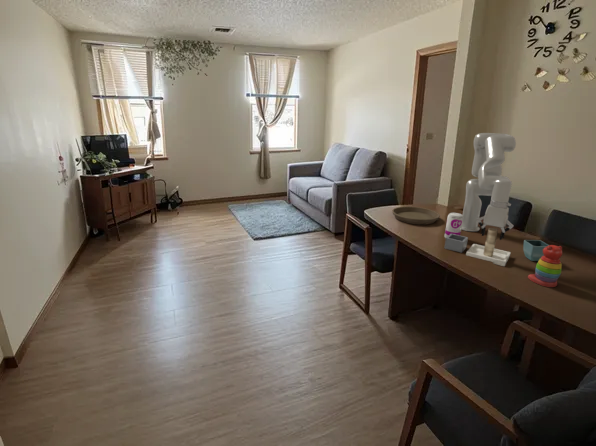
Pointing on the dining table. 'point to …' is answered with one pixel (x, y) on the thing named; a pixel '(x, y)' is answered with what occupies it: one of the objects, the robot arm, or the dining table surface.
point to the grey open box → (456, 242)
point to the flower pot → (534, 249)
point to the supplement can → (453, 224)
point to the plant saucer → (415, 215)
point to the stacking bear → (548, 267)
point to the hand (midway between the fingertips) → (491, 237)
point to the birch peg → (490, 242)
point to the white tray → (497, 258)
